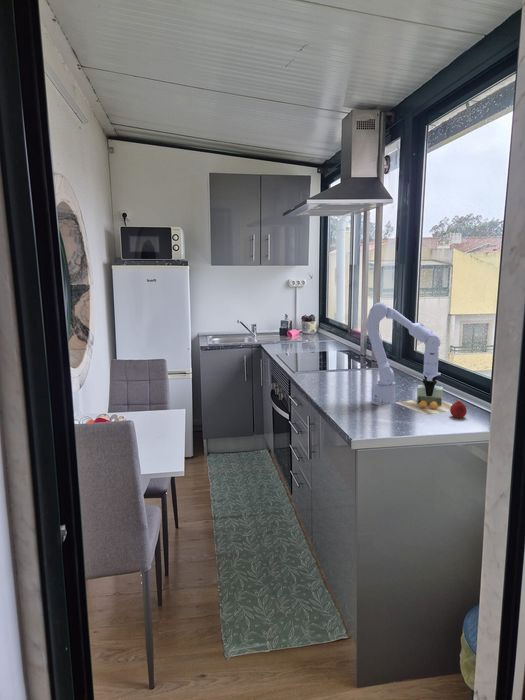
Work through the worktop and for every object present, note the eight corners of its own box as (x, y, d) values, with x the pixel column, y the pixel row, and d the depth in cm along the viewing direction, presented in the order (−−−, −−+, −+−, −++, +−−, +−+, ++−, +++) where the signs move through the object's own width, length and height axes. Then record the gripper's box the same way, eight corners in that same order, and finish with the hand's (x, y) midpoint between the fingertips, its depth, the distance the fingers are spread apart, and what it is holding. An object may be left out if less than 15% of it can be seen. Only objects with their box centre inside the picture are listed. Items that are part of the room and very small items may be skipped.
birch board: (426, 417, 179) (426, 414, 179) (394, 404, 197) (394, 402, 197) (464, 410, 187) (464, 408, 187) (431, 399, 204) (431, 397, 204)
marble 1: (422, 409, 187) (423, 402, 186) (417, 407, 189) (418, 400, 189) (428, 408, 188) (428, 401, 187) (423, 406, 191) (423, 399, 190)
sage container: (416, 403, 194) (417, 388, 193) (417, 400, 199) (418, 384, 198) (441, 406, 190) (442, 389, 189) (442, 402, 195) (442, 386, 194)
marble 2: (433, 410, 185) (433, 403, 185) (427, 408, 188) (428, 401, 187) (438, 409, 186) (439, 402, 186) (433, 407, 189) (433, 400, 188)
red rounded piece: (461, 417, 179) (462, 397, 178) (468, 421, 173) (470, 401, 172) (447, 417, 179) (448, 397, 177) (453, 422, 173) (454, 401, 172)
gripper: (440, 366, 184) (439, 399, 186) (441, 360, 197) (440, 390, 199) (422, 365, 186) (420, 397, 189) (424, 359, 200) (423, 389, 202)
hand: (429, 393), depth 194 cm, fingers open, 7 cm apart
